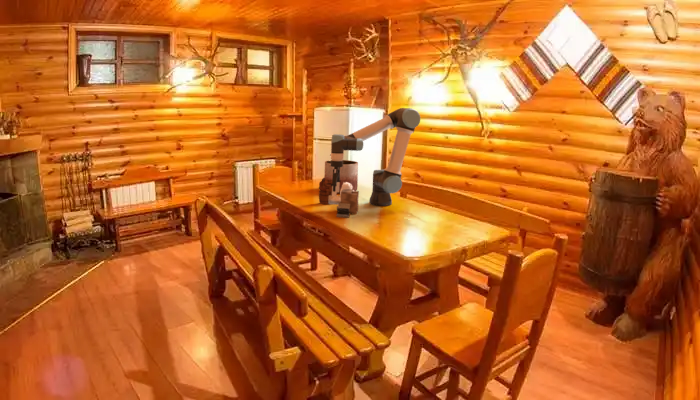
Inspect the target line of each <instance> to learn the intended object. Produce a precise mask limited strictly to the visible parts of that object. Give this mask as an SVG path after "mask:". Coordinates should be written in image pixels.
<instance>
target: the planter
mask: <svg viewBox="0 0 700 400" xmlns="http://www.w3.org/2000/svg"><path fill="white" fill-rule="evenodd" d="M331 160H332V159H330V160H326V161H324V177H327V176H330V177H332V178H333V169H334V167H332V166H331ZM342 161H343V167H340V180H341V182H340V183H339V193H338V192H337V194H340V190H341V188H342V185H343V182H344V183H346V182H348V183H350V184H352V187H353V188H352V191H353V190H354V191H358V181H359V175H358V174H359V173H358V171H359V162H357V161H354V160H347V159H343V160H342ZM324 177H323V178H324Z"/></svg>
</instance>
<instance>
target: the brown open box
mask: <svg viewBox="0 0 700 400" xmlns="http://www.w3.org/2000/svg"><path fill="white" fill-rule="evenodd" d="M359 195H360V194H359V191H358V190H356V191H352V189H342V191H341V203H346V204H350V214H354V215H356V214H358V211H359V205H358V206H357V198H358V199H359Z"/></svg>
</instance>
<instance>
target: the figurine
mask: <svg viewBox="0 0 700 400" xmlns="http://www.w3.org/2000/svg"><path fill="white" fill-rule="evenodd" d="M352 188H353V187H352V184H350V183H348V182H346V183H344V182H343V185H342V188H341V190H340V193H339V196H341V191H342V189H352ZM353 191H354V190H353Z"/></svg>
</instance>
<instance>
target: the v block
mask: <svg viewBox="0 0 700 400" xmlns="http://www.w3.org/2000/svg"><path fill="white" fill-rule="evenodd" d="M336 211H337V212H336V218H346V219H347V218H349V217H350V214H351V213H350V204H346V203H339V205H338V204H337V206H336Z"/></svg>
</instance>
